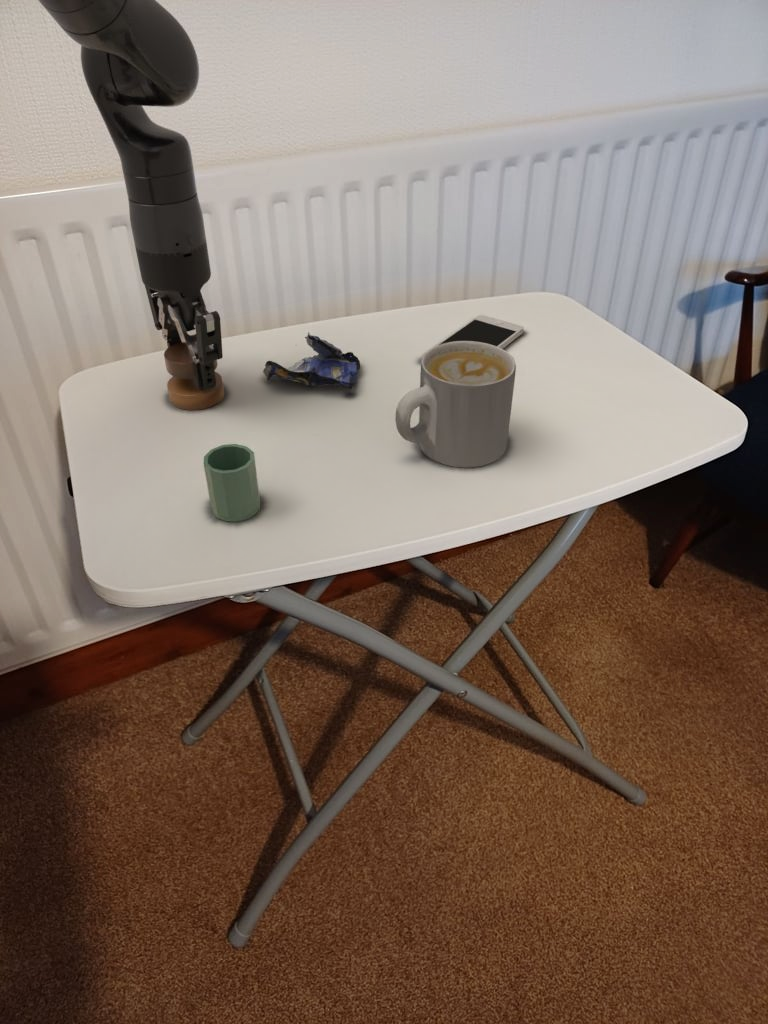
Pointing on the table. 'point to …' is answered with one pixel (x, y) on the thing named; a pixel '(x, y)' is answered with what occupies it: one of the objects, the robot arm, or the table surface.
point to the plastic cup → (232, 482)
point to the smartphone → (486, 332)
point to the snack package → (319, 366)
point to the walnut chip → (180, 361)
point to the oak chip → (194, 393)
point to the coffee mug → (461, 404)
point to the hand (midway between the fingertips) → (193, 376)
